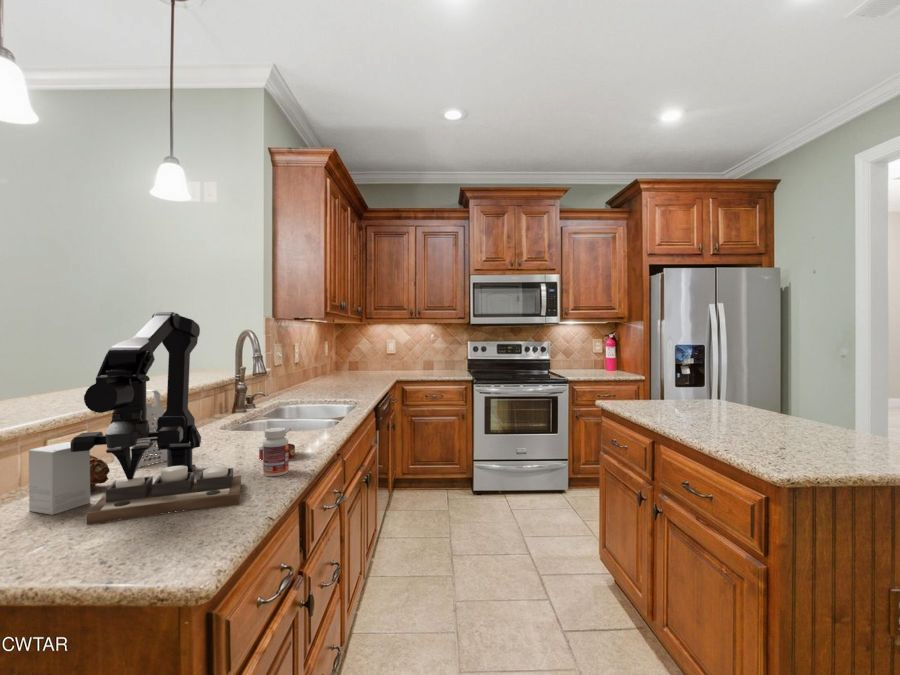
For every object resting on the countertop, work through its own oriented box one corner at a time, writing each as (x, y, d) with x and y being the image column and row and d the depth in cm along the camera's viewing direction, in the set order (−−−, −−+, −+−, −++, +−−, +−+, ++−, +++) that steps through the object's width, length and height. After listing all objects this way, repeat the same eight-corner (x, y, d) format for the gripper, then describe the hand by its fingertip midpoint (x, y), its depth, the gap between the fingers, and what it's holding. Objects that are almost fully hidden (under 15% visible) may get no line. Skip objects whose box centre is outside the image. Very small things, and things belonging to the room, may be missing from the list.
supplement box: (91, 503, 97) (91, 443, 97) (51, 516, 90) (51, 451, 90) (68, 499, 99) (68, 441, 99) (27, 511, 92) (27, 449, 92)
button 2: (204, 478, 104) (204, 468, 104) (228, 476, 106) (228, 465, 106) (201, 485, 99) (201, 474, 99) (227, 482, 101) (227, 471, 101)
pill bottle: (291, 474, 117) (291, 430, 117) (265, 478, 113) (265, 432, 113) (285, 468, 122) (285, 426, 122) (260, 472, 118) (260, 428, 118)
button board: (108, 499, 99) (108, 479, 99) (240, 484, 109) (240, 465, 109) (86, 524, 86) (86, 500, 86) (238, 503, 96) (238, 482, 96)
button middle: (163, 478, 100) (163, 467, 100) (189, 475, 102) (189, 464, 102) (158, 484, 96) (158, 473, 96) (185, 481, 98) (185, 470, 98)
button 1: (119, 488, 97) (119, 477, 97) (147, 485, 99) (146, 474, 99) (112, 495, 93) (112, 484, 93) (141, 492, 95) (141, 480, 95)
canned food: (279, 478, 129) (266, 451, 124) (257, 468, 134) (244, 442, 130) (308, 452, 137) (298, 425, 133) (286, 444, 142) (275, 418, 138)
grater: (172, 460, 131) (172, 390, 131) (131, 469, 122) (130, 394, 122) (154, 455, 136) (153, 388, 136) (113, 463, 127) (113, 391, 127)
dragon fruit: (112, 495, 106) (51, 508, 103) (121, 466, 112) (64, 477, 109) (97, 472, 101) (32, 485, 98) (107, 443, 107) (46, 454, 104)
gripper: (59, 414, 85) (59, 498, 85) (175, 407, 92) (175, 484, 92) (80, 405, 95) (80, 480, 95) (183, 400, 103) (183, 470, 103)
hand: (130, 479), depth 96 cm, fingers closed, pressing on button 1
